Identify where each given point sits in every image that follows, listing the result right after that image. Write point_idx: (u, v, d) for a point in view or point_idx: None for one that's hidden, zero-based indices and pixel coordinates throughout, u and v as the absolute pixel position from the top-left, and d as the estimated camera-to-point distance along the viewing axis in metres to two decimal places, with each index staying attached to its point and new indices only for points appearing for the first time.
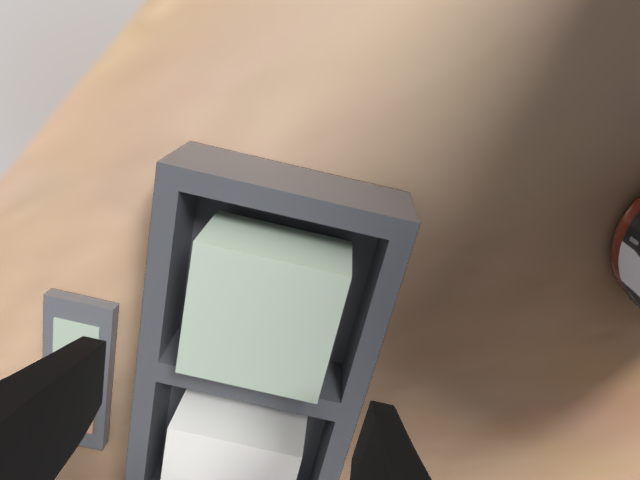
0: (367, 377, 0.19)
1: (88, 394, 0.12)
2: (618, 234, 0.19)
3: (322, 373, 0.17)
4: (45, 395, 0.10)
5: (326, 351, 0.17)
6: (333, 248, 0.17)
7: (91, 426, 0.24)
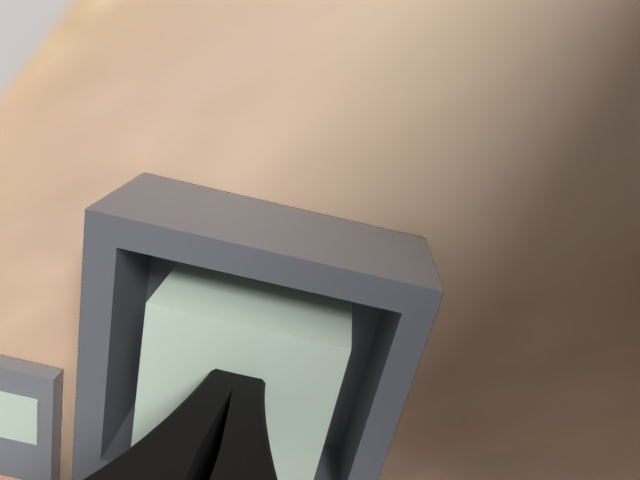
0: None
1: None
2: None
3: (314, 464, 0.13)
4: (210, 432, 0.10)
5: (319, 438, 0.13)
6: (329, 304, 0.14)
7: None
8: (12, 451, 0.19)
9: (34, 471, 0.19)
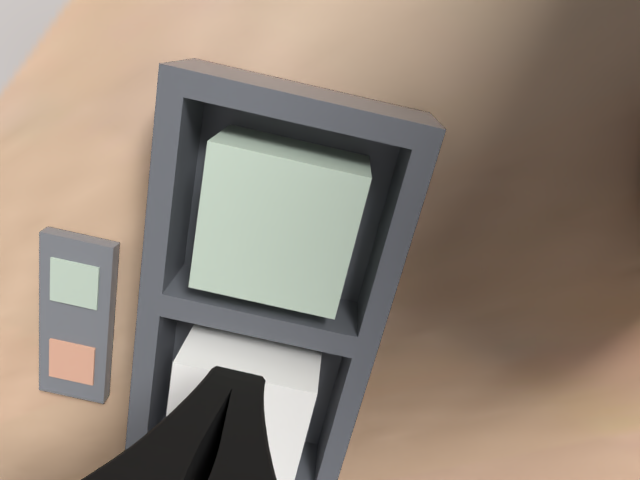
0: (387, 308, 0.17)
1: None
2: None
3: (340, 285, 0.16)
4: (210, 432, 0.10)
5: (344, 261, 0.16)
6: (351, 158, 0.17)
7: (91, 377, 0.23)
8: (74, 318, 0.22)
9: (93, 336, 0.22)
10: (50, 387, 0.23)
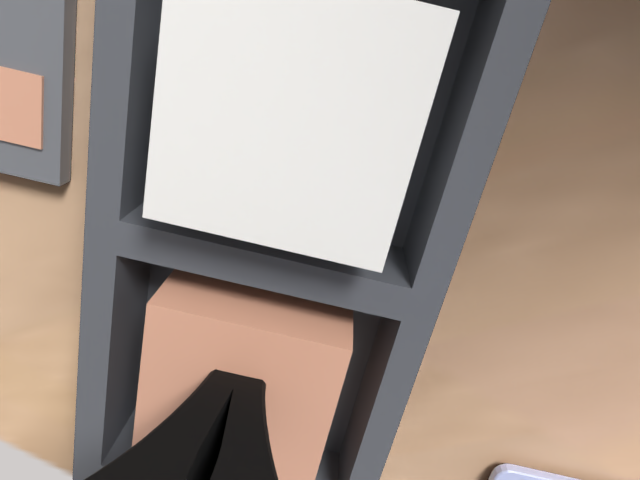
0: None
1: None
2: None
3: None
4: (211, 432, 0.10)
5: None
6: None
7: (39, 132, 0.14)
8: (8, 15, 0.13)
9: (39, 53, 0.13)
10: None
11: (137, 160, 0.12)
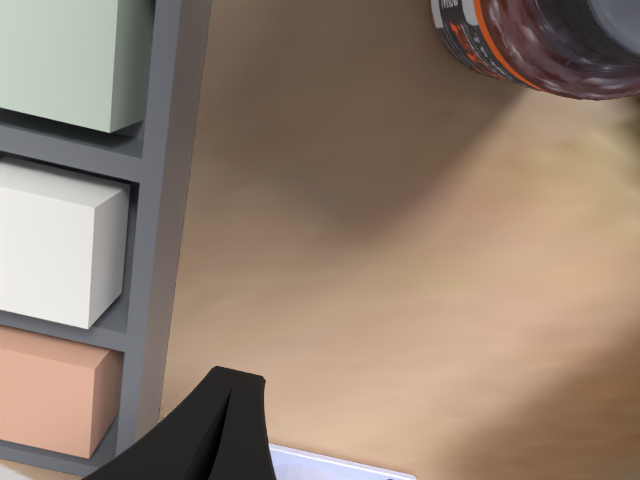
0: (164, 124, 0.18)
1: None
2: None
3: (108, 93, 0.17)
4: (209, 432, 0.10)
5: (109, 66, 0.16)
6: None
7: None
8: None
9: None
10: None
11: None
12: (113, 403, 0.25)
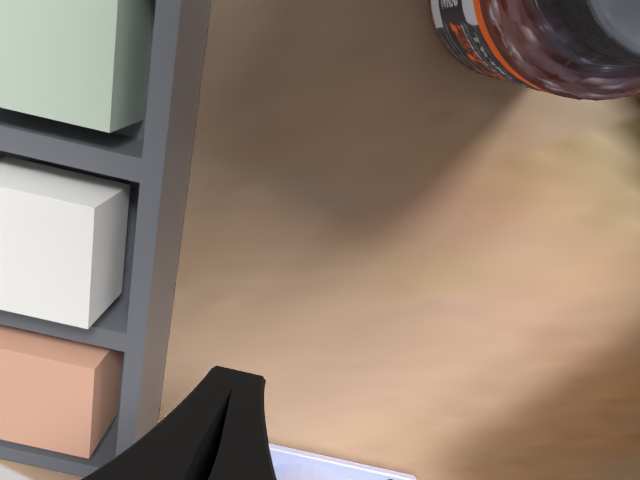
0: (164, 124, 0.18)
1: None
2: None
3: (108, 93, 0.17)
4: (209, 431, 0.10)
5: (108, 66, 0.16)
6: None
7: None
8: None
9: None
10: None
11: None
12: (113, 403, 0.25)
